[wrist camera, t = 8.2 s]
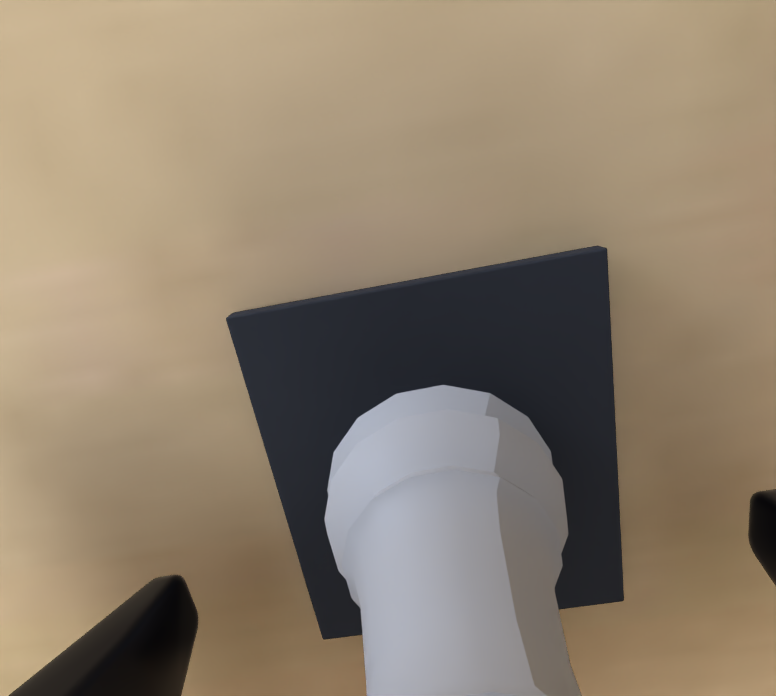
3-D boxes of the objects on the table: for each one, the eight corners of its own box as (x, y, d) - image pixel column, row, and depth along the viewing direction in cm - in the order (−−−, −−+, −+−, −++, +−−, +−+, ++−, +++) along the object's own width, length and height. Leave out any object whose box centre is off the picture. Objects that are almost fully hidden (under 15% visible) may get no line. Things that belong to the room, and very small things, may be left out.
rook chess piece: (376, 341, 9) (271, 1138, 1) (589, 422, 10) (1352, 1355, 2) (301, 525, 10) (39, 1441, 3) (490, 589, 11) (709, 1530, 3)
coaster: (617, 588, 11) (624, 602, 11) (324, 626, 12) (322, 641, 11) (599, 244, 9) (608, 247, 8) (231, 312, 9) (224, 317, 9)
